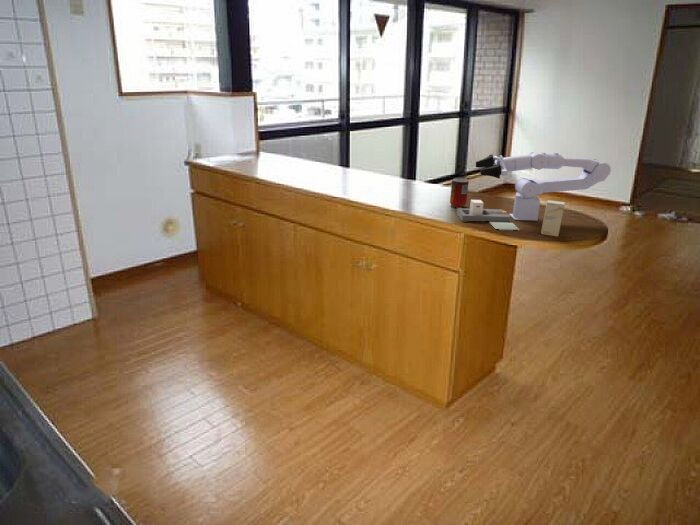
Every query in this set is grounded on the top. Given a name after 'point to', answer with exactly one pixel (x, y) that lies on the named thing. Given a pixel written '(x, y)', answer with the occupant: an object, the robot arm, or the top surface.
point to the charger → (476, 207)
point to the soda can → (459, 192)
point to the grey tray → (484, 215)
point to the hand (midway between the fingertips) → (478, 168)
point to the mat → (504, 226)
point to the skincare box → (552, 218)
